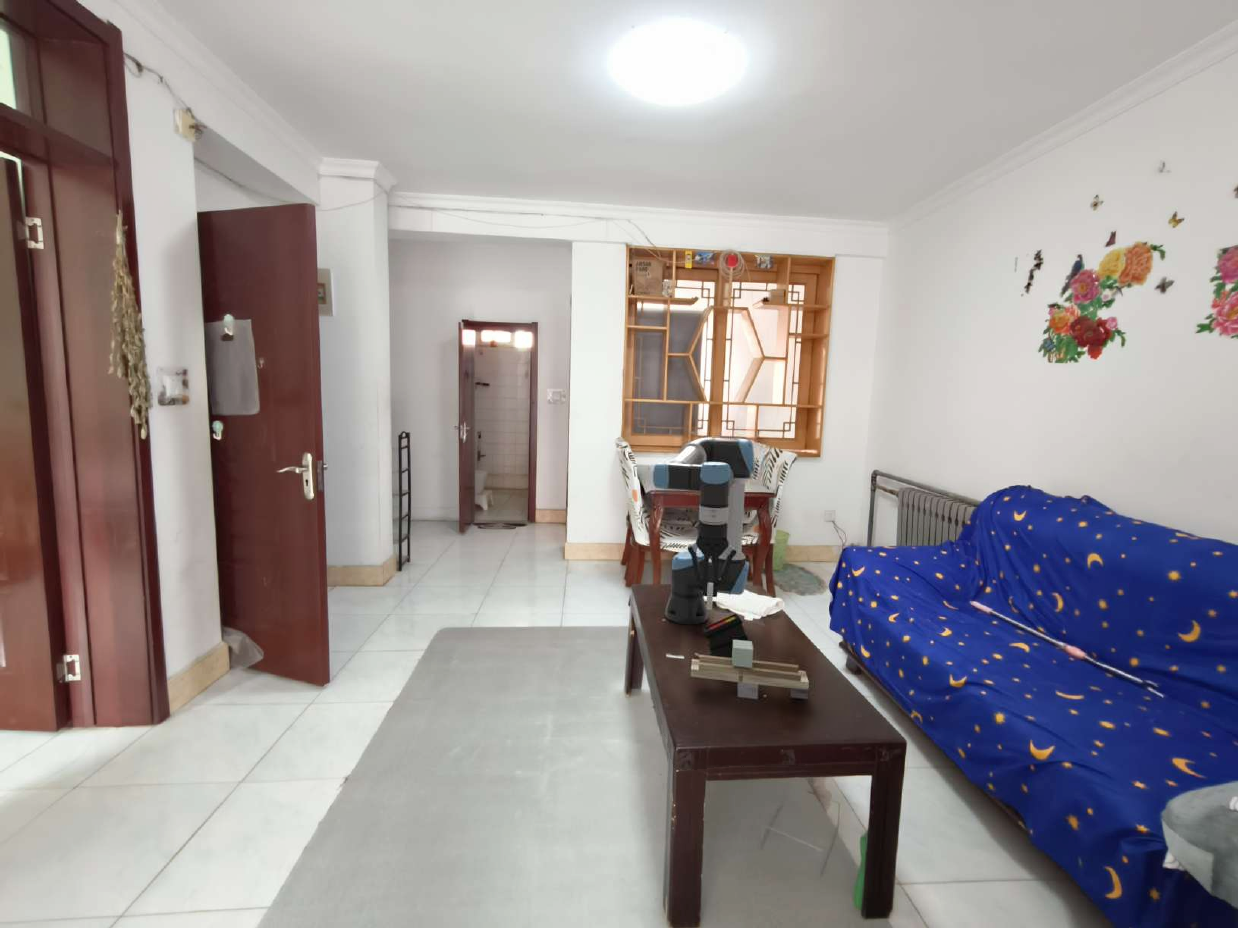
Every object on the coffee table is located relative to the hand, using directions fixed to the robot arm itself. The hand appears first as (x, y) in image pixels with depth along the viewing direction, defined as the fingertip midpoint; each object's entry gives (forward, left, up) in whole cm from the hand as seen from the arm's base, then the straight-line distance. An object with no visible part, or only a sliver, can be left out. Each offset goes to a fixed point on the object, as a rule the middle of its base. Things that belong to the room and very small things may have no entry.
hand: (709, 607), depth 145 cm
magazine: (-14, +5, -22) cm, 27 cm away
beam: (0, +11, -22) cm, 25 cm away
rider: (0, +9, -16) cm, 19 cm away
